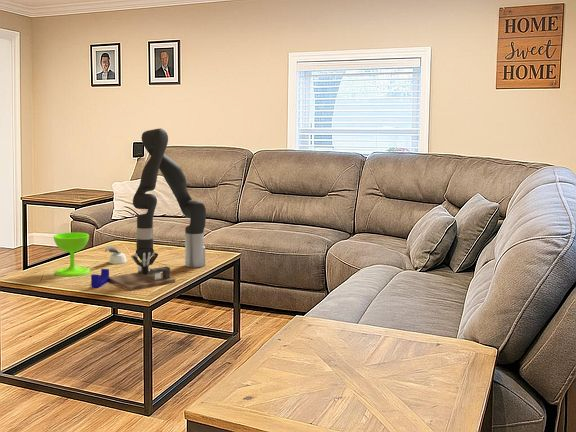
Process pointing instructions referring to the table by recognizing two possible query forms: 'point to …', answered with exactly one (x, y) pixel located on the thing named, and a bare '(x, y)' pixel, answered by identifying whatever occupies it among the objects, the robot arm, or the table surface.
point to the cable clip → (100, 279)
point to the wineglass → (71, 252)
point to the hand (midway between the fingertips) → (144, 274)
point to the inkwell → (116, 256)
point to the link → (151, 274)
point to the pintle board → (142, 279)
